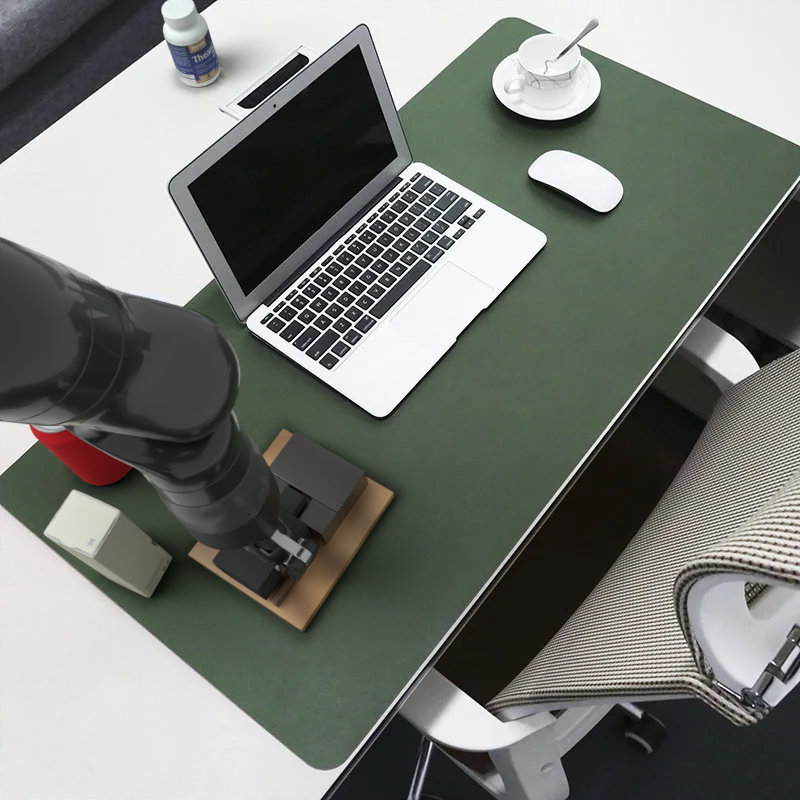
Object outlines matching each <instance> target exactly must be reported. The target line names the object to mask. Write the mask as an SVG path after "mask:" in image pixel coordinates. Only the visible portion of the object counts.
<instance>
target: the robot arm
mask: <svg viewBox="0 0 800 800" xmlns="http://www.w3.org/2000/svg"><path fill="white" fill-rule="evenodd" d="M241 373H242V372H241V364H240V359H239V355H238V352H237V350H236V348H235V345H234V342H233V341H232V339H231V338H230V336H229V334H228V333H227V332H226V330H225V329H224V328H223V327H222V326H221V325H220V324H219V323H218V322H217V321H215V319H213V318H212V317H210V316H208V315H206V314H205V313H203V312H200V311H197V310H194V309H191V308H188V307H184V306H181V305H179V304H174V303H170V302H168V301H167V302H166V301H162V300H159V299H154V298H150V297H147V296H142V295H138V294H133V293H129V292H125V291H123V290H119V289H116V288H113V287H110V286H108V285H105V284H103V283H101V282H99V281H98V280H96V279H94V278H93V277H90V276H89V275H87V274H85V273H83V272H82V271H79V270H77V269H75V268H73V267H72V266H69V265H68V264H65V263H63V262H60V261H59V260H56V259H55V258H52V257H50V256H48V255H46V254H44V253H41V252H40V251H39V252H38V251H36V250H34V249H32V248H30V247H27V246H24V245H22V244H20V243H17V242H16V241H13V240H11V239H8V238H5V237H3V236H0V422H2V423H11V424H19V425H21V424H22V425H38V426H39V425H40V426H64V427H65V428H66V429H67V430H68V431H70V432H71V433H72V434H74V435H75V436H77V437H78V438H80V439H82V440H83V441H85V442H87V443H88V444H90V445H92V446H94V447H95V448H97V449H99V450H101V451H103V452H104V453H106V454H108V455H110V456H111V457H113V458H115V459H117V460H119V461H121V462H123V463H126V464H128V465H130V466H132V467H131V468H134V469H136V470H138V471H139V472H140V474H141V475H142V476H143V478H145V480H146V481H147V482H148V483H149V484H150V485H151V486H152V487H153V488H154V489H155V491H156V493H157V495H158V497H159V498H160V500H161V502H162V503H163V505H164V506H165V507H166V509H167V510H168V511H169V512H170V514H172V515H173V516H174V518H175V519H176V520H177V521H178V522H179V523H180V524H181V525H182V526H183V528H184V529H185V530H186V531H187V532H188V533H189V534H190V535H191V536H192V537H193V538H194V539H195V540H196V541H197V542H198V541H199V542H200V543H202V544H203V545H205V546H207V547H210V548H213V549H217V550H236V549H240V548H243V549H245V550H246V551H248V552H250V553H251V554H252V555H253V556H254V557H255V558H256V559H258V560H260V561H262V562H263V563H265V564H267V565H270V564H272V565H273V566H274V569H276V570H277V572H278V573H279V574H280V575H281V576H282V577H284V578H285V579H287V578H288V577H289V576H290V578H291V579H293V580H297V581H300V580H301V578H302V577H303V574H304V573H305V571H306V570H307V568H308V567H309V566H310V564H311V563H312V562H313V561H314V559H315V558H316V555H317V551H318V546H317V545H316V542H314V541H313V540H309V539H307V538H306V539H305V540H304V539H303V538H300V539H299V541H298V542H297V543H296V542H295V541H293V540H292V539H291V534H292V531H291V529H290V528H289V527H288V526H287V525H286V524H285V523H284V522H283V521H282V520H281V519H280V518H279V517H278V514H279V507H280V492H279V487H278V484H277V481H276V479H275V477H274V475H273V474H272V472H271V470H270V468H269V466H268V464H267V462H266V460H265V459H264V457H263V455H264V454H263V453H262V451H261V449H260V447H259V446H258V444H257V443H256V441H255V440H254V438H253V437H252V435H250V434H249V433H248V432H247V430H246V429H245V427H244V425H243V424H242V421H241V419H240V418H239V416H238V414H237V412H236V411H235V409H234V407H235V405H236V402H237V400H238V397H239V393H240V387H241V381H242V380H241V376H242V374H241ZM259 548H261V549H259ZM280 550H281V551H280ZM279 551H280V552H279ZM278 553H279V554H278ZM277 554H278V555H277Z"/></svg>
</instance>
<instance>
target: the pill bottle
mask: <svg viewBox="0 0 800 800" xmlns="http://www.w3.org/2000/svg"><path fill="white" fill-rule="evenodd" d="M197 10H198V9H197V7H196V5H195V1H193V0H166V1H165V2H164V3H163V4H162V6H161V15H162V18H163V20H164V23H163V25H162V33H163V37H164V39H165V42H166V45H167V47H168V50H169V53H170V56H171V58H172V62H173V63H174V66H175V69H176V72H177V75H178V77H179V79H180V81H181V82H182V83H183V84H185V85H187V86H189V87H193V88H200V87H205V86H208V85H210V84H212V83H213V82H214V81H216V80H217V78H218V77H219V76H220V73H221V65H220V62H219V58H218V54H217V52H216V48H215V46H214V42H213V39H212V36H211V32H210V29H209V26H208V25H209V24H208V23H207V20H206V18H205V17H204V16H203V15H202V14H200V13H198V11H197Z"/></svg>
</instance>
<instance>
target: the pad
mask: <svg viewBox="0 0 800 800" xmlns="http://www.w3.org/2000/svg"><path fill="white" fill-rule="evenodd" d="M307 505H308V503H307V500H306V498H305V496H303V495H302V494H300V493H298V492H297V491H295V490H294V489H292V488H290V487H289V486H286V488H285V489H284V491H283V492H282V493H281V495H280V507H279V514H278V517H279V518H280V519H281V520H282V521H283V522H284V523H285V524H286V525H287V526H288V527H289V528H290V529H291V531H292V534H291V539H292V540H293V541H295V542H296V543H297V542H298V541H299V539H300V538H303V539H304V540H305V539H306V538H307V539H309V538H310V537H311V533H310V531H309V529H308V527H307V525H306V523H305V522H303V521H301V520H300V519H298V518H299V516H300V515H301V513H302V512H303V511H304V509H305V508H306V506H307ZM259 549H261V548H259ZM280 551H281V550H280ZM280 551H279V552H280ZM278 554H279V553H278ZM278 554H277V555H278ZM212 561H213V562H214V563H215V564H216V565H217V566H218V567H219V568H220V570H221V571H222V572H224V573H225V574H227V575H228V576H230V577H231V578H233V579H234V580H236V581H237V582H239V583H240V584H242V585H243V586H245V587H246V588H248V589H249V590H251V591H252V592H254V593H255V594H257V595H258V596H260V597H261V598H263V599H265V600H267V599H268V597H269V596H270V594H271V593H272V591H273V590H274V589H275V587H276V586H277V584H278V583H279V581H280V580H281V579H282V576H281V575H280V574H279V573H278V572H277V570H276V569H274V566H273V565H272V564H270V565H267V564H265V563H263V562H262V561H260V560H258V559H256V558H255V557H254V556H253V555H252V554H251V553H250V552H248V551H246V550H245V549H243V548H240V549H236V550H220V551H219V552H218V553H217V555H216V556H215V557H214V559H213V560H212Z"/></svg>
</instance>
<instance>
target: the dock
mask: <svg viewBox="0 0 800 800" xmlns="http://www.w3.org/2000/svg"><path fill="white" fill-rule="evenodd" d="M262 455H263V457H264V459H265V460H266V462H267V464H268V466H269V468H270V470H271V472H272V474H273V475H274V477H275V479H276V481H277V484H278V487H279V492H280V495H281V493H282V492H283V491H284V489H285V488H286V486H289V487H290V488H292V489H294V490H295V491H297V492H298V493H300V494H302V495H303V496H305V498H306V500H307V503H308V505H307V506H306V508H305V509H304V511H303V512H302V513H301V515H300V516H299V518H298V519H300V520H301V521H303V522H305V523H306V525H307V527H308V529H309V531H310V533H311V537H310V538H309V540H313V541H314V542H316V545H317V546H318V551H317V555H316V558H315V559H314V561H313V562H312V563H311V564H310V566H309V567H308V568H307V570H306V571H305V573H304V574H303V577H302V578H301V580H300V581H297V580H293V579H291V578H290V576H289V577H288V578H287V579H285V578H284V577H282V579H281V580H280V581H279V583H278V584H277V586H276V587H275V589H274V590H273V591H272V593H271V594H270V596H269V597H268V599H267V600H265V599H263V598H261V597H260V596H258V595H257V594H255V593H254V592H252V591H251V590H249V589H248V588H246V587H245V586H243V585H242V584H240V583H239V582H237V581H236V580H234V579H233V578H231V577H230V576H228V575H227V574H225V573H224V572H222V571H221V570H220V568H219V567H218V566H217V565H216V564H215V563H214V562H213V561H212V560H213V559H214V557H215V556H216V555H217V553H218V552H219V551H220V550H217V549H213V548H210V547H207V546H205V545H203V544H202V543H200V542H199V541H197V542H196V543H195V544H194V545H193V547H192V548H191V550H190V551H189V552H188V554H187V556H188V557H189V558H190V559H192V560H193V561H195V562H196V563H197V564H199V565H200V566H202V567H204V568H205V569H206V570H208V571H210V573H213V574H214V575H216V576H217V577H218V578H220V579H221V580H223V581H224V582H226V583H228V584H229V585H231V586H232V587H234V588H235V589H237V590H238V591H239V592H241V593H243V595H246V596H247V597H249V598H250V599H252V600H253V601H254V602H256V603H258V604H259V605H260V606H262V607H264V608H265V609H267V610H268V611H270V612H271V613H273V614H274V615H276V616H277V617H279V618H280V619H282V620H283V621H285V622H286V623H288V624H289V625H291V626H292V627H294V628H295V629H297V630H299V631H300V632H301V633H303V632H305V630H306V629H307V628H308V626H309V624H310V623H311V622H312V620H313V619H314V617H315V616H316V615H317V613H318V611H319V610H320V608H321V607H322V605H323V604H324V602H325V601H326V600H327V598H328V597H329V595H330V593H331V591H332V590H333V589H334V587H335V586H336V584H337V583H338V581H339V580H340V578H341V577H342V575H343V574H344V573H345V571H346V570H347V568H348V566H349V565H350V563H351V562H352V560H353V559H354V558H355V556H356V554H357V553H358V551H359V550H360V549H361V547H362V546H363V544H364V542H365V541H366V539H367V538H368V536H369V535H370V533H371V532H372V531H373V529H374V528H375V526H376V524H377V523H378V521H379V520H380V519H381V517H382V515H384V513H385V511H386V510H387V509H388V507H389V505H390V504H391V502H392V501H393V499H394V498H395V493H394V492H393V491H392V490H390V489H389V488H387V487H385V486H384V485H382V484H379V483H378V482H376V481H375V480H373V479H371V478H370V477H368V476H367V473H366V471H364V470H363V469H361V468H360V467H358V466H356V465H354V464H353V463H351V462H349V461H348V460H346V459H344V458H342V457H341V456H339V455H337V454H335V453H334V452H332V451H330V450H328V449H327V448H325V447H324V446H321V445H320V444H318V443H317V442H315V441H314V440H311V439H310V438H308V437H306V436H304V435H303V434H301V433H299V432H298V431H295V432H293V433H292V432H290V431H289V430H287V429H285V428H282V429H281V431H280V432H279V433H278V434H277V436H276V438H275V439H274V440H273V441H272V442H271V444H270V445H269V446H268V447H267V449H266V451H264V453H263V454H262Z"/></svg>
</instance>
